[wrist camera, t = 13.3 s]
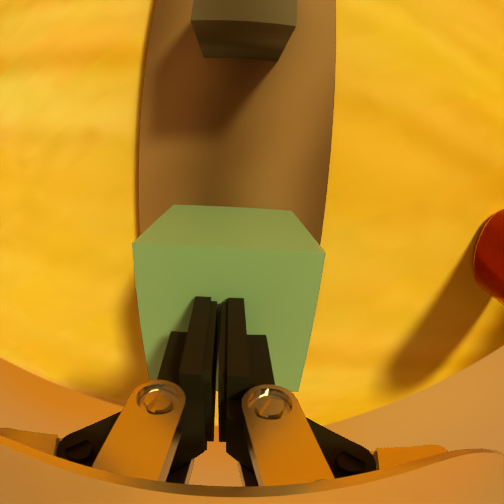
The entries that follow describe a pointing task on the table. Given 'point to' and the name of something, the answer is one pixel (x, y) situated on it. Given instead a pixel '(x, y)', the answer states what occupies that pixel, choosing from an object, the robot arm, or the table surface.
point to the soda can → (491, 257)
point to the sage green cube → (230, 279)
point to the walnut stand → (238, 107)
